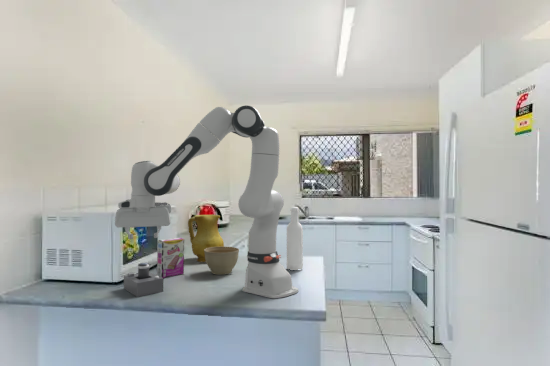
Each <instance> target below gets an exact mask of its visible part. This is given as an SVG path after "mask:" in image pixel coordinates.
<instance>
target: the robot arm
mask: <svg viewBox="0 0 550 366" xmlns="http://www.w3.org/2000/svg"><path fill="white" fill-rule="evenodd" d="M229 133H233V134H235V135H237V136H239V137H242V138H249V139H250V140H251V157H250V158H251V159H250V169H249V170H250V171H249V177H248V180H247V184H246V187H245V189H244V191H243V193H242V194H241V195H240V197H239V199H238V209H239V212H240V213H241V214H242V215H243V216H245V217H248V218H252V219H253V221H252V225H251V227H250V228H249V231H248V251H247V255H246V257H247V266H246V269H245V280H244V286H243V287H242V292H244V293H249V294H251V295H252V294H253V295H256V296H257V295H258V296H261V297H265V298H269V299H279V298H284V297H285V298H286V297H288V296H293V295H295V294H297V293H298V292H299V288H298V287H296V286H293V281H292V275H291V274H290V273H289V271H288V270H287V268H285V267H284V265H282V264H281V262H280V259H281V258H282V257H281V256H282V255H281V254H279V253H278V251H277V230H278V224H279V221H280V215H281V211H282V209H283V207H284V203H285V199H284V197H283V196H282V194H281V192H279V191H276V190H275V189H273V187H274V183H275V181H276V179H277V178H278V175H279V164H280V138H279V137H280V136H279V133H278V131H277V129H275V128H273V127H271V126H266V125H265V121H264V120H263V118H262V116H261V114H260V112H259V111H258V109H256V108H255V107H254V106H251V105H241V106H240V107H238V108H236V109H235V110H234V112H231V111H229V109H228V108H225V107H223V106H217V107H215V108H213V109H212V110H211V111H209V112H208V113H207V114H206V115H205V116H204V117H202V119H201V120H200V121H199V122H198V123H197V124H196V125H195V126H194V127H193V129H192V131H191V132H190V133H189V134H188V135H187V136H186V138H185V139H184V141H183V142H182V143H181V144H180V145H179V146H178V147H177V148H176V149H175V150H174V151H173V152H172V153H171V154H170V155H169V156H168V157H167V158H166V159H165V161H163V162H162V163H161V164H160V165H158V164H156V163H154V161H151V160H142V161H139V162H135V163H134V164H133V165H132V167H131V174H130V184H131V194H130V199H126V200H123V201H121V202H118V204H117V207H118V208H119V209H117V211H116V213H115V218H114V221H115V222H114V225H115V227H116V228H118V229H119V228H124V230H125V232H126V234H127V237H128V240H133V239H134V233H131V232H130V230H131V228H146V227H147V228H149V227H156V230H157V232H154V233H153V237H154V239H159V233H160V231H161V230H162V227H168V226H170V225H171V214H170V213H171V212H172V205H171V204H170V203H169V202H166V201H165V202H156V197H157V196H158V197H159V196H164V195H170V194H173V193H174V192H176V191H178V189H179V187H180V185H181V179H180V176H179V175H178V174H179V173H180V172H181V171H182V170H183V168H185V166H187V165H188V163H189V162H190V161H191V160H193V159H194V158H196V157H198V156H199V157H200V156H201V155H202V156H203V155H204V154H205V155H206V154H209V153H210V152H211V151H212V150H214V149H215V148H216V147H217V146H218V145H219V144H220V143H221V142H222V141H223V139H224V138H225V137H226V136H227V135H228V134H229Z"/></svg>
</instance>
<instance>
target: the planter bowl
mask: <svg viewBox="0 0 550 366" xmlns="http://www.w3.org/2000/svg"><path fill="white" fill-rule="evenodd" d="M204 252H205V260H206V262H205V263H206V264H207V267H208V268H209V270H210V273H211V274H213V275H221V276H222V275H223V276H224V275H229V274H231V273H232V272H233V270H234V268H235V266H236V264H237V263H238V259H239V254H240V249H239V248H238V247H234V246H224V247H211V248H206V249H204Z"/></svg>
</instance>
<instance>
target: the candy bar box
mask: <svg viewBox="0 0 550 366" xmlns="http://www.w3.org/2000/svg"><path fill="white" fill-rule="evenodd" d="M156 250H157V251H156V252H157V255H156V256H157V263H156V275H157V276H159V277H161V278H163V279H165V278H170V277H176V276H180V275H184V273H185V271H184V270H185V269H184V268H185V238H182V237H174V238H162V239H157V249H156Z"/></svg>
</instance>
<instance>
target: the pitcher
mask: <svg viewBox="0 0 550 366" xmlns="http://www.w3.org/2000/svg"><path fill="white" fill-rule="evenodd" d="M220 218H221V216H220V215H219V214H218V215H217V214H198V215H197V214H196V215H194V216H192V217H190V218H189V219H188V221H187V225H188V234H189V238H190V240H189V241H190V243H191V249H192V253H193V255H195V256H196V257H197V259H196V262H199V263H206V260H205V252H204V249H206V248H211V247H225V244H224V239H223V238H222V236H221V235H220V231H219V228H218V222H219V219H220ZM193 222H195V223H196V225H197V229H196V233H194V229H193Z"/></svg>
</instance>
